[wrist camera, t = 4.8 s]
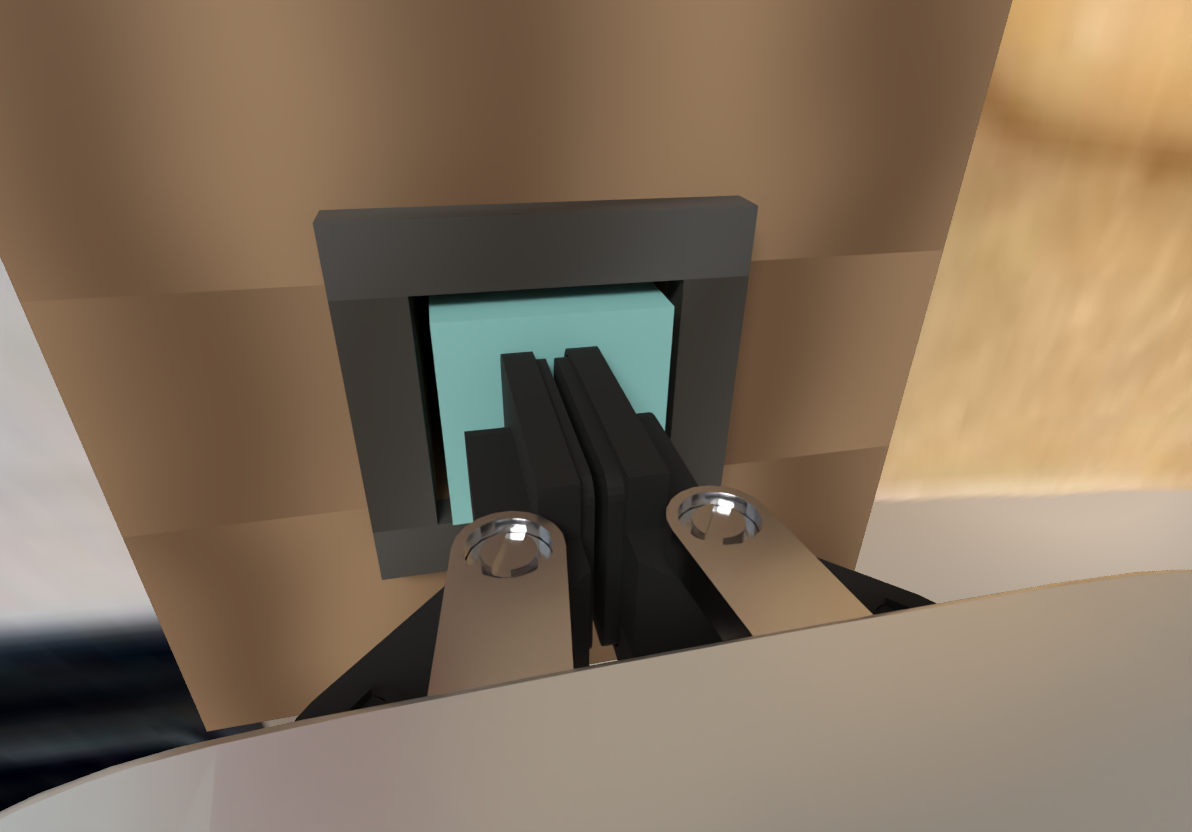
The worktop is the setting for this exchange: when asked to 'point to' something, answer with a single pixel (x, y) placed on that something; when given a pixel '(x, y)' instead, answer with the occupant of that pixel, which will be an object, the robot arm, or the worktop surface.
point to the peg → (541, 353)
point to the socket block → (456, 266)
